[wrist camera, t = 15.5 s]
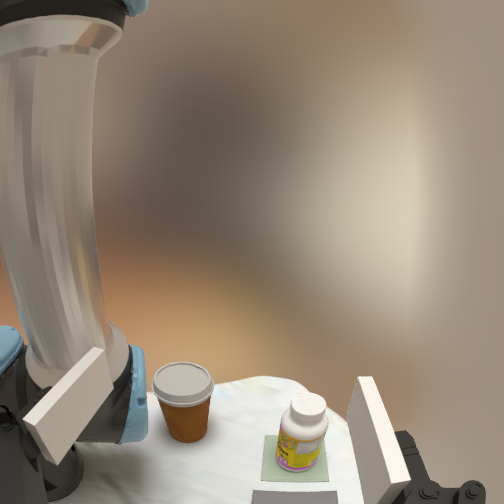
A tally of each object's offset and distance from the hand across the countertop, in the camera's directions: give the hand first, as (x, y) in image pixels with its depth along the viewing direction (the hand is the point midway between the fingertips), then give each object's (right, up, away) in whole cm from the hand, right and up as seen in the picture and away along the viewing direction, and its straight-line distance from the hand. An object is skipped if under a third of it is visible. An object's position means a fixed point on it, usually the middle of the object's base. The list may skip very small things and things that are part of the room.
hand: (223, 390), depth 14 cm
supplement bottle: (+8, -25, +25) cm, 36 cm away
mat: (+8, -25, +25) cm, 36 cm away
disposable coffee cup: (-9, -23, +30) cm, 39 cm away
